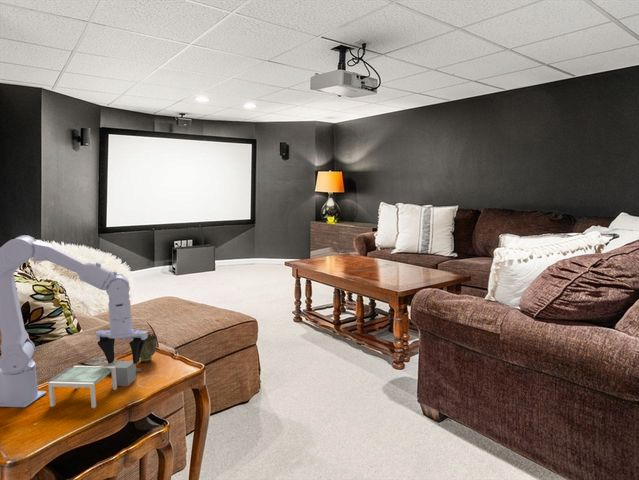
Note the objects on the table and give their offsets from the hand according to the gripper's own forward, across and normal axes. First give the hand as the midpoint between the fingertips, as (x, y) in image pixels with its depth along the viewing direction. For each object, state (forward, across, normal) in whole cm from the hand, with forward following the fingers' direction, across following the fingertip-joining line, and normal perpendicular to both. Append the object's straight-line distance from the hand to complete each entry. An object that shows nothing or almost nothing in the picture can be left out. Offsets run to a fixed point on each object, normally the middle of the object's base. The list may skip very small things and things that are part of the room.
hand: (123, 362), depth 123 cm
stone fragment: (+7, +11, -10) cm, 17 cm away
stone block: (+6, 0, 0) cm, 6 cm away
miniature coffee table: (+6, +6, +10) cm, 13 cm away
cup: (+6, +1, -15) cm, 16 cm away
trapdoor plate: (+1, +7, +10) cm, 12 cm away
